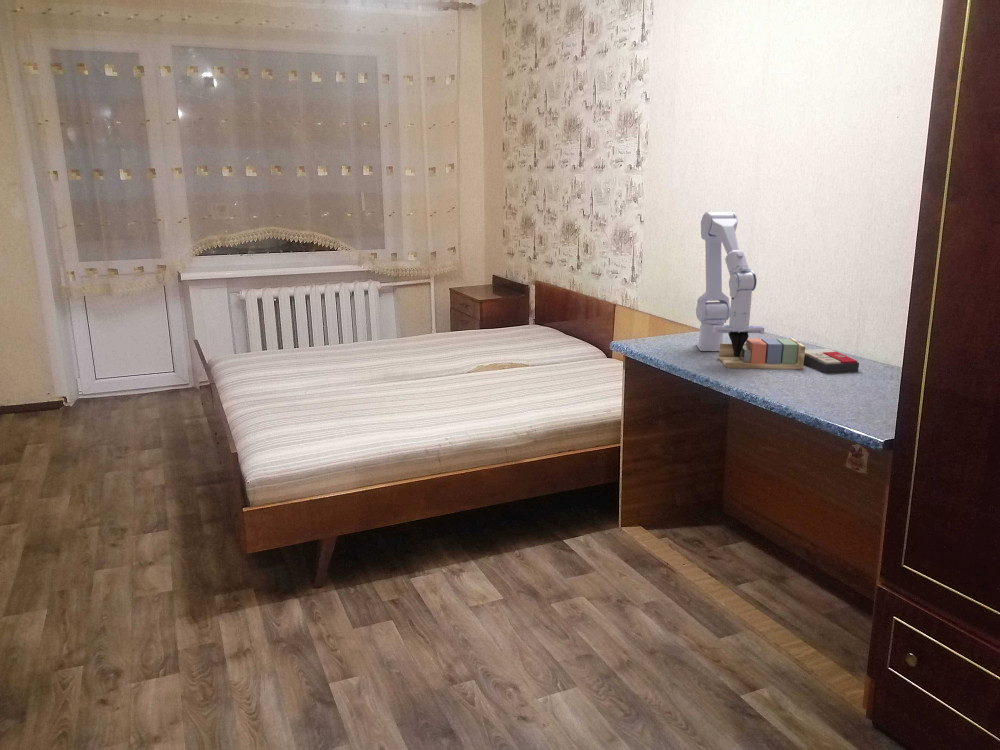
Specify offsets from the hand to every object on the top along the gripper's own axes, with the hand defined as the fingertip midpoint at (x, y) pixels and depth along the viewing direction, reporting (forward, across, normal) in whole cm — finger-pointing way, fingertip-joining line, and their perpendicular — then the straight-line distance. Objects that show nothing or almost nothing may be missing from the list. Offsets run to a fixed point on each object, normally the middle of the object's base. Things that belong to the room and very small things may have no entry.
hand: (736, 356), depth 229 cm
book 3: (+1, +14, 0) cm, 15 cm away
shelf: (+2, +7, 0) cm, 7 cm away
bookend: (+1, +2, 0) cm, 3 cm away
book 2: (+1, +10, 0) cm, 10 cm away
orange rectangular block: (+1, +5, 0) cm, 6 cm away
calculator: (+3, +26, -2) cm, 26 cm away
